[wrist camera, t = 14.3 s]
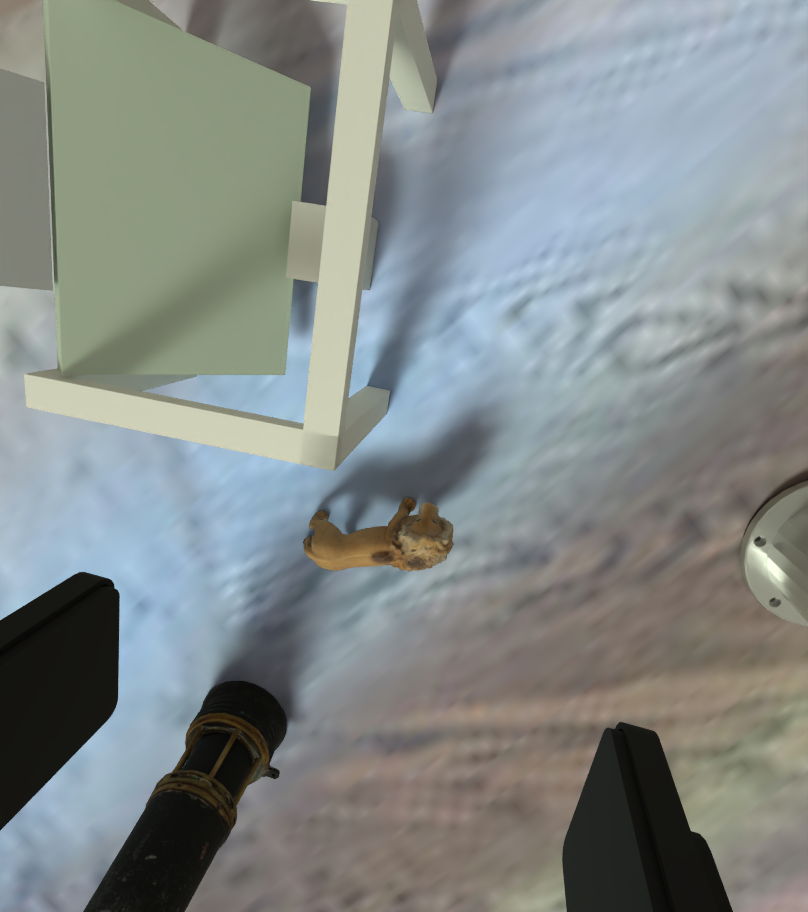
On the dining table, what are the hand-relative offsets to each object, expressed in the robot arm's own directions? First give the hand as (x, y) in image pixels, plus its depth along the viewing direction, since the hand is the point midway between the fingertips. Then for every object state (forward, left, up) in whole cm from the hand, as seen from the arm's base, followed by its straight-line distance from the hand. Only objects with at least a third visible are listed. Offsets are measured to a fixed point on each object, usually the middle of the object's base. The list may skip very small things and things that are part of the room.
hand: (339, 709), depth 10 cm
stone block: (+13, -9, -33) cm, 36 cm away
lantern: (+15, +38, -35) cm, 54 cm away
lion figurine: (+4, +12, -35) cm, 38 cm away
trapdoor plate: (+26, -9, -23) cm, 36 cm away
